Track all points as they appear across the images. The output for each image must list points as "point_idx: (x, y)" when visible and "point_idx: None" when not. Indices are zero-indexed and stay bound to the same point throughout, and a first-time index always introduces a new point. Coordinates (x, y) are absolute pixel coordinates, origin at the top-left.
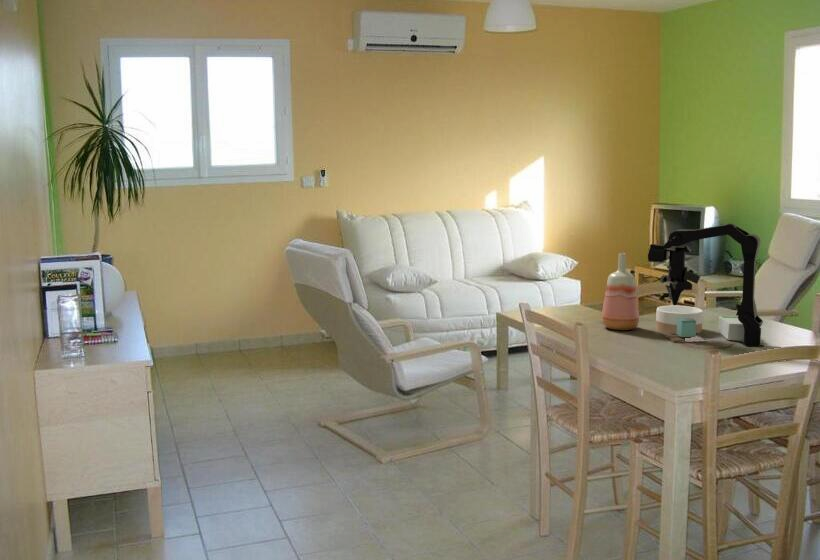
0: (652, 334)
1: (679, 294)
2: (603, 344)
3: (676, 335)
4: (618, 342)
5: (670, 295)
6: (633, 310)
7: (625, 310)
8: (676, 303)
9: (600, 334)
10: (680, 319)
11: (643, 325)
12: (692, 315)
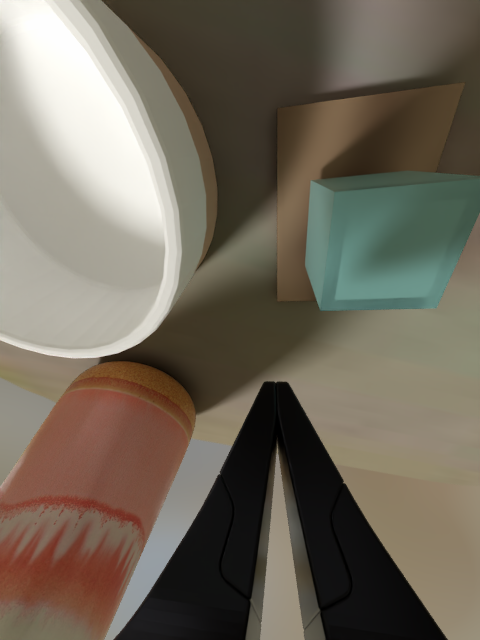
0: (224, 329)
1: (382, 558)
2: (355, 455)
3: (289, 257)
4: (339, 430)
5: (268, 537)
6: (153, 443)
7: (172, 465)
8: (296, 400)
9: None
10: (373, 302)
11: None
12: (159, 120)
